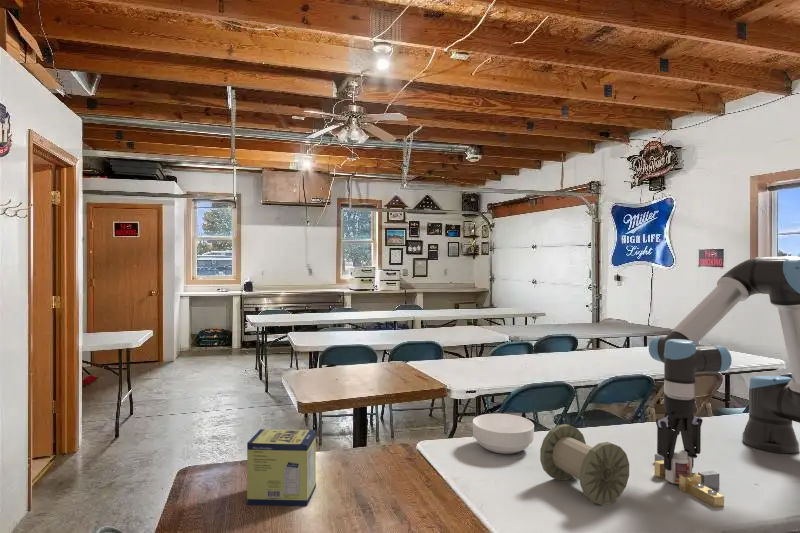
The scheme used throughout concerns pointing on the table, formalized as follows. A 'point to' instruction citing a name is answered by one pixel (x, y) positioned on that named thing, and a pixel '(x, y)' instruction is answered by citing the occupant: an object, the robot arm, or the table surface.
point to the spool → (585, 463)
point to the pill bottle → (680, 463)
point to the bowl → (503, 432)
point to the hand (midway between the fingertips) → (678, 480)
